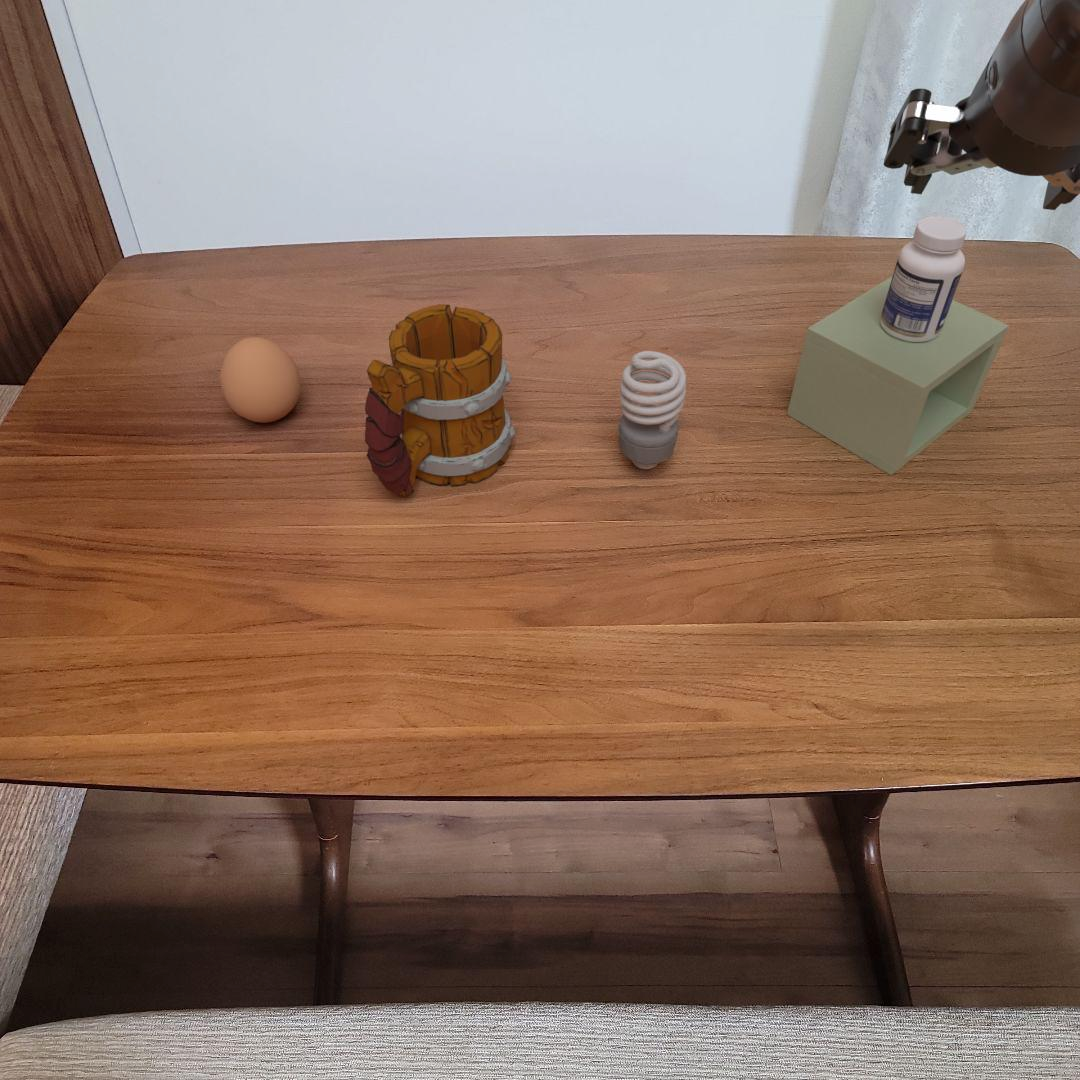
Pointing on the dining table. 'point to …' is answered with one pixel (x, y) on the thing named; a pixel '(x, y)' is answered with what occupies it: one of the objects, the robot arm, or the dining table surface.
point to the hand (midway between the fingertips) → (983, 187)
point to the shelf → (891, 379)
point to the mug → (439, 401)
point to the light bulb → (650, 408)
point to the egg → (259, 380)
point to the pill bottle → (925, 280)
